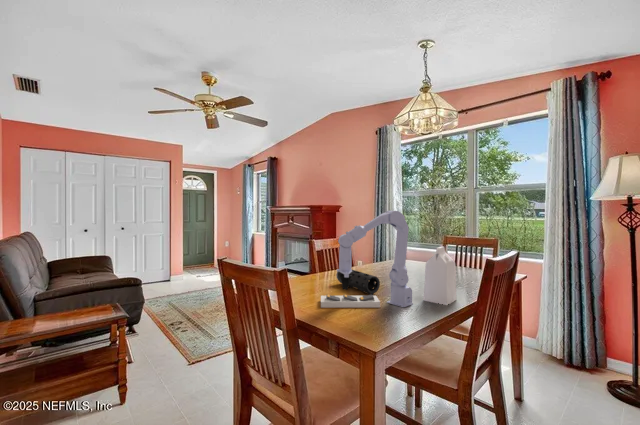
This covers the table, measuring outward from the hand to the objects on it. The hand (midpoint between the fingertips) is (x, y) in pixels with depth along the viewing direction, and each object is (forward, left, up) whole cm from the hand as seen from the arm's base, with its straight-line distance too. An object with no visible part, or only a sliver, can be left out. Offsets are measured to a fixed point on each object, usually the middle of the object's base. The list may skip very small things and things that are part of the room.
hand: (345, 289), depth 144 cm
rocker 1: (+4, +4, -4) cm, 7 cm away
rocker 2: (-7, -8, -4) cm, 11 cm away
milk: (-25, -41, -8) cm, 48 cm away
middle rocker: (-1, -2, -4) cm, 5 cm away
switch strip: (0, -3, -7) cm, 8 cm away
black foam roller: (+15, -24, -8) cm, 30 cm away
